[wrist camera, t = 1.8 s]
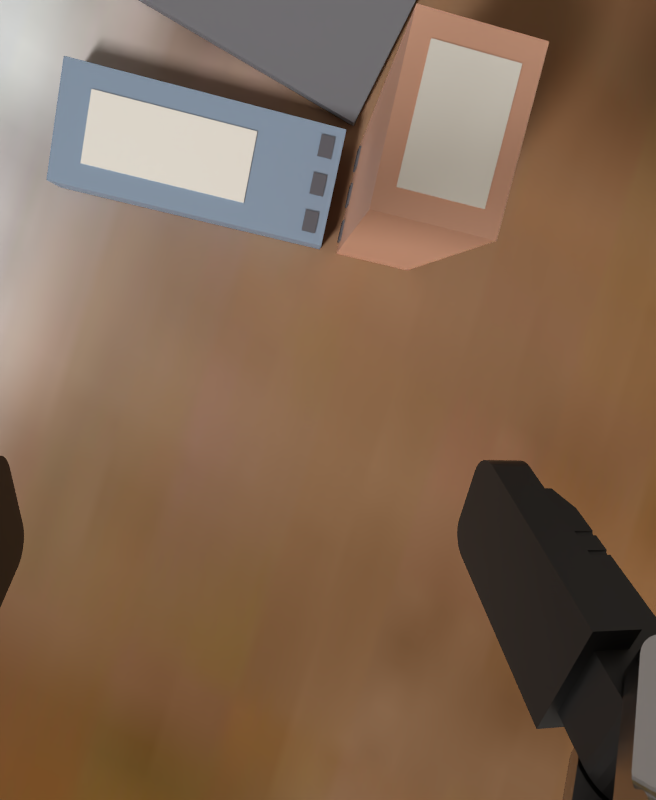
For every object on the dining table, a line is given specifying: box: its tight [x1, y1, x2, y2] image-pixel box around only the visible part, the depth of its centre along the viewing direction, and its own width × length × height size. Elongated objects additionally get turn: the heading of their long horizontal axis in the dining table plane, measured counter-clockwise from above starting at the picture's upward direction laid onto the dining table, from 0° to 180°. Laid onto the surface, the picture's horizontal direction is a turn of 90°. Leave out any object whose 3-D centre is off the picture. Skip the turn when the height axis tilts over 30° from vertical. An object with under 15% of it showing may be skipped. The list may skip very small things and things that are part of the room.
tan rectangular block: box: [336, 3, 549, 270], centre depth 20 cm, size 4×5×12 cm
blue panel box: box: [47, 56, 346, 249], centre depth 24 cm, size 12×5×2 cm, turn 77°
